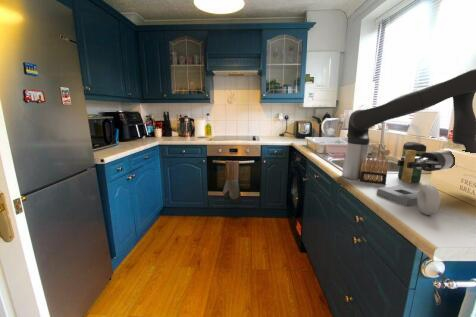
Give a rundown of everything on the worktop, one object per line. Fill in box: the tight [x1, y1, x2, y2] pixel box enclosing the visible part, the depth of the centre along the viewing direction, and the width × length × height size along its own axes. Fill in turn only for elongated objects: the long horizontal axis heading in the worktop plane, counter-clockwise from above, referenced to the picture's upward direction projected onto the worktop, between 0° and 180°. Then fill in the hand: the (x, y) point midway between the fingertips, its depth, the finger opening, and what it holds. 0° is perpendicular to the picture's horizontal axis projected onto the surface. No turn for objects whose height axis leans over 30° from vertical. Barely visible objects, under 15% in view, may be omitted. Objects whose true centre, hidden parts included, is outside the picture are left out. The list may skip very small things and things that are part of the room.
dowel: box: [400, 150, 416, 184], centre depth 84 cm, size 3×3×12 cm
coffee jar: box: [397, 141, 427, 183], centre depth 108 cm, size 10×8×19 cm
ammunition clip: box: [358, 156, 389, 186], centre depth 104 cm, size 11×2×12 cm, turn 65°
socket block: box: [376, 185, 419, 207], centre depth 87 cm, size 12×12×2 cm
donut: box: [417, 183, 441, 216], centre depth 73 cm, size 10×3×10 cm, turn 161°
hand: (403, 164), depth 83 cm, fingers closed on dowel, 3 cm apart
